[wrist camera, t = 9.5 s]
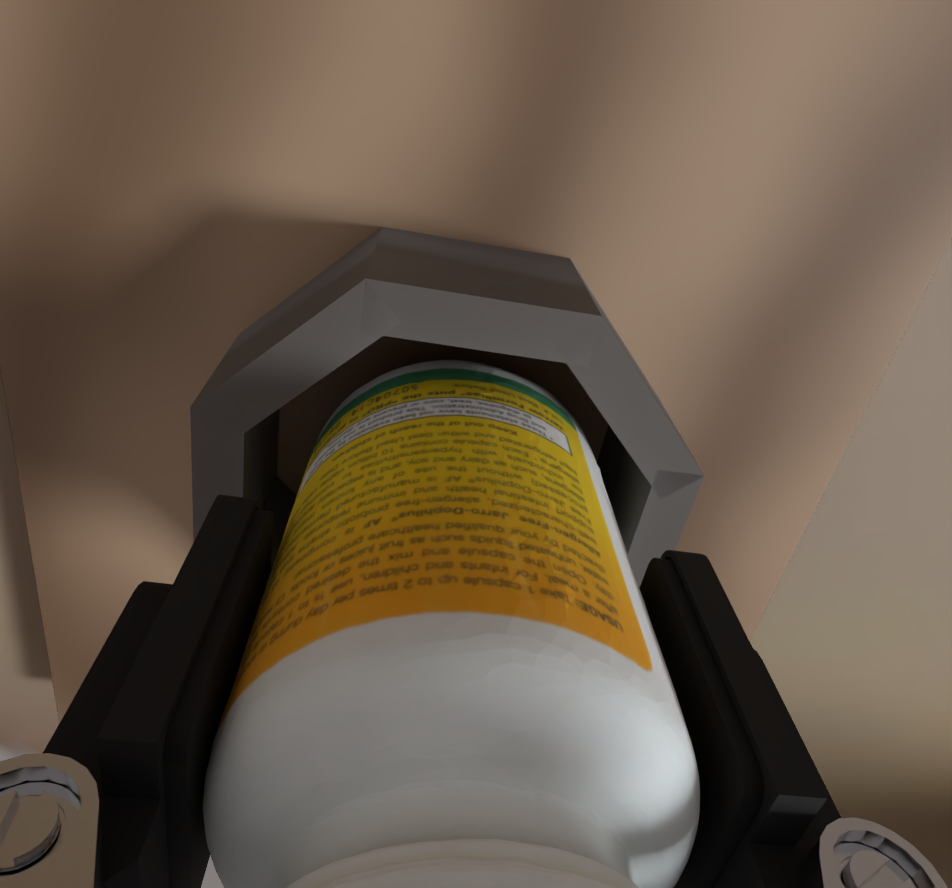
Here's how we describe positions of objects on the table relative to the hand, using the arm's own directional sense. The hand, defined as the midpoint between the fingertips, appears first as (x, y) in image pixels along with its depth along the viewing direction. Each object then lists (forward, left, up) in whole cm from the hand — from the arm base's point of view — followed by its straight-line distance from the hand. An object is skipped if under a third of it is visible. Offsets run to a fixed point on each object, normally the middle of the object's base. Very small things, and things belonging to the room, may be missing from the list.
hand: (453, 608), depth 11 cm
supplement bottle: (0, 0, -4) cm, 4 cm away
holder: (0, 0, -6) cm, 6 cm away
